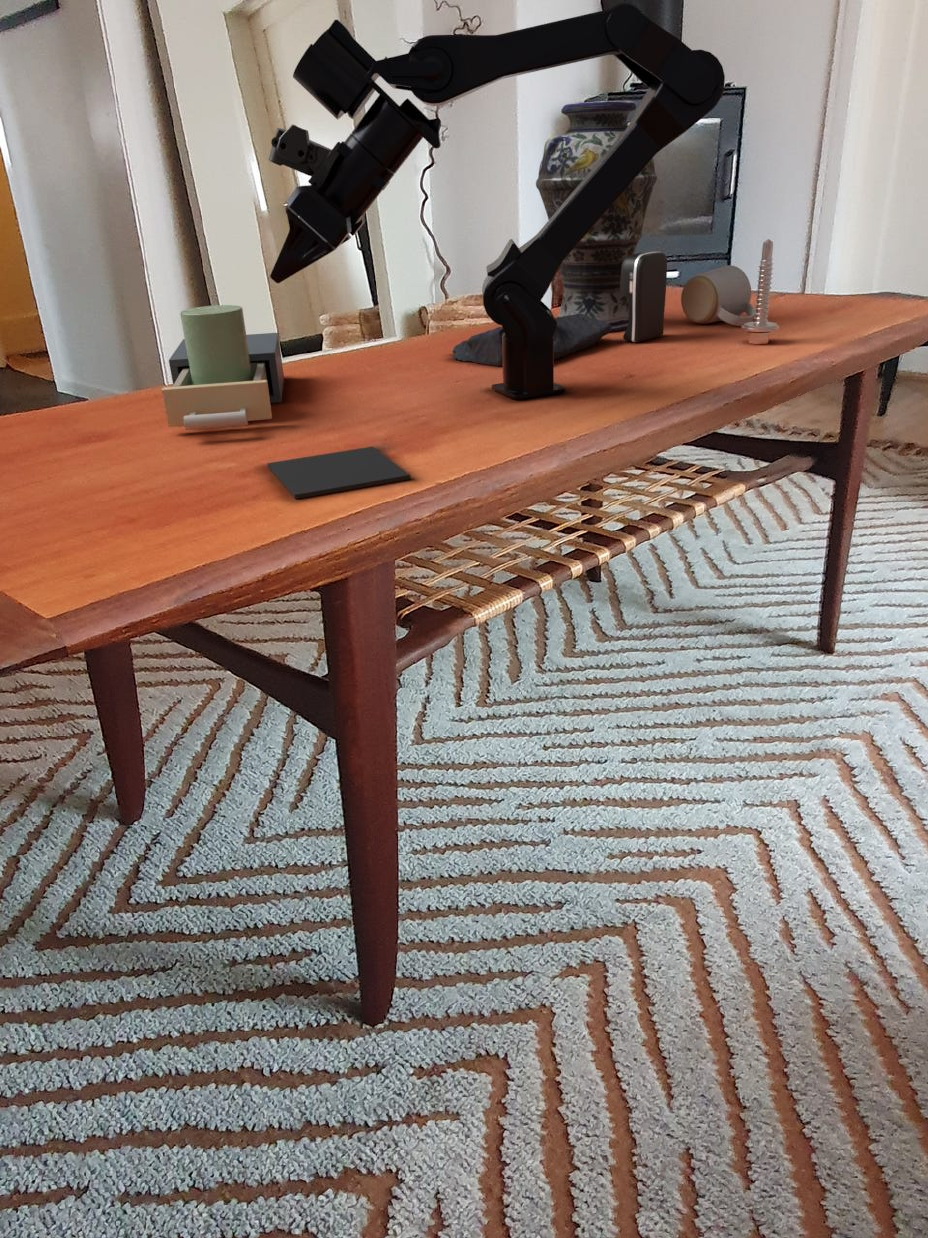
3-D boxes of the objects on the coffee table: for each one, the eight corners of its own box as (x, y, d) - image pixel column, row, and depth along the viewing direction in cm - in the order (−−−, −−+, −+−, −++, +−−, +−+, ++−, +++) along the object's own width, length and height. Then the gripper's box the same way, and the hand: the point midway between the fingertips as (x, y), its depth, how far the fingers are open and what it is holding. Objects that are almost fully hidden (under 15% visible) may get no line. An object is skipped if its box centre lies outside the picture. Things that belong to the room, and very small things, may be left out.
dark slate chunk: (630, 343, 130) (631, 307, 127) (525, 371, 116) (525, 331, 114) (545, 333, 139) (545, 299, 137) (439, 358, 126) (438, 321, 124)
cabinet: (281, 402, 107) (274, 352, 104) (177, 410, 105) (168, 359, 103) (284, 377, 119) (278, 332, 116) (190, 384, 117) (183, 338, 115)
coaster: (410, 479, 79) (409, 474, 79) (295, 499, 76) (294, 494, 76) (372, 450, 88) (372, 446, 87) (267, 467, 84) (267, 463, 84)
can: (260, 396, 101) (247, 310, 97) (200, 404, 99) (185, 316, 95) (247, 385, 106) (235, 303, 102) (190, 393, 104) (176, 308, 100)
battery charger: (642, 333, 136) (645, 249, 131) (665, 335, 133) (669, 250, 128) (614, 341, 131) (616, 254, 126) (637, 343, 129) (640, 255, 124)
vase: (519, 324, 147) (516, 108, 134) (616, 313, 153) (622, 104, 139) (566, 340, 133) (567, 100, 120) (671, 328, 139) (683, 96, 125)
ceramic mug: (675, 322, 143) (678, 269, 139) (709, 315, 147) (714, 263, 143) (732, 330, 135) (737, 274, 132) (766, 323, 140) (772, 268, 136)
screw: (738, 345, 125) (742, 338, 129) (776, 346, 123) (778, 339, 127) (747, 240, 119) (750, 237, 123) (787, 240, 117) (789, 236, 121)
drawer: (270, 428, 93) (265, 390, 91) (163, 437, 92) (155, 398, 90) (275, 392, 107) (270, 358, 106) (183, 399, 106) (177, 365, 105)
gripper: (322, 98, 101) (239, 215, 107) (294, 88, 85) (197, 227, 90) (401, 174, 105) (316, 284, 110) (389, 178, 88) (290, 307, 93)
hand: (281, 274), depth 101 cm, fingers open, 9 cm apart
